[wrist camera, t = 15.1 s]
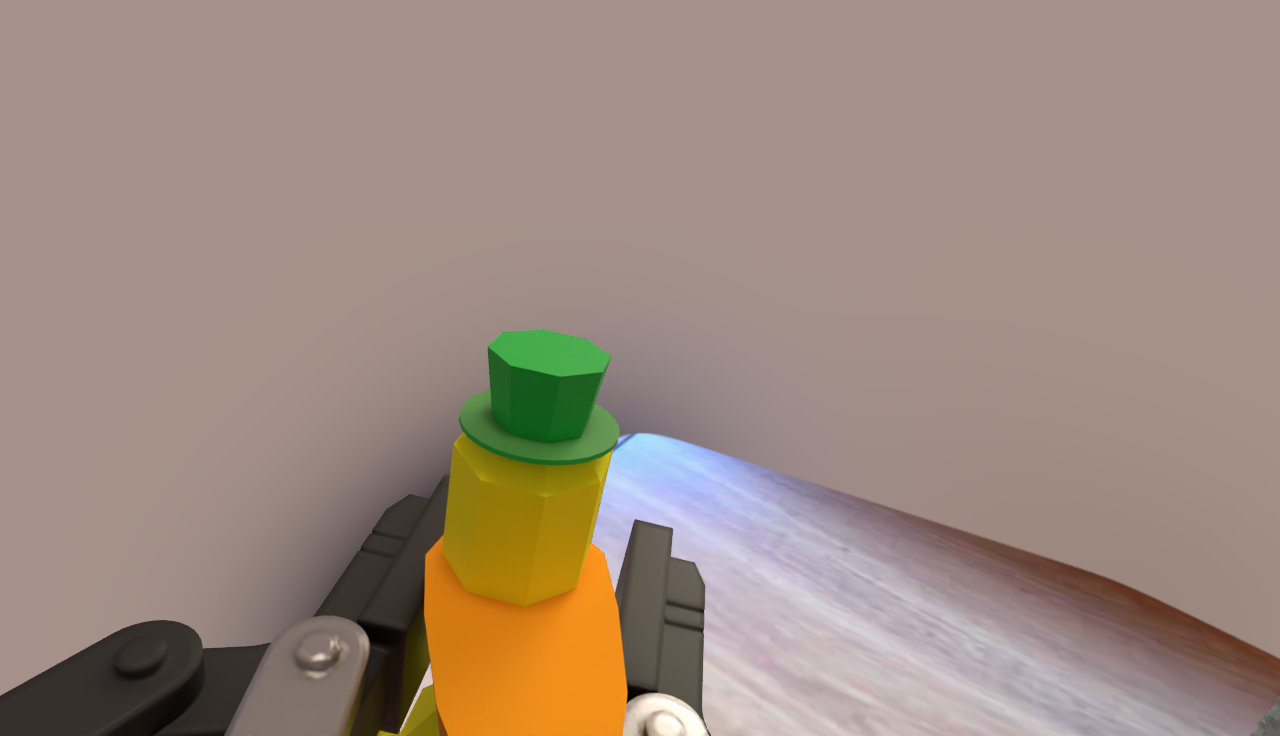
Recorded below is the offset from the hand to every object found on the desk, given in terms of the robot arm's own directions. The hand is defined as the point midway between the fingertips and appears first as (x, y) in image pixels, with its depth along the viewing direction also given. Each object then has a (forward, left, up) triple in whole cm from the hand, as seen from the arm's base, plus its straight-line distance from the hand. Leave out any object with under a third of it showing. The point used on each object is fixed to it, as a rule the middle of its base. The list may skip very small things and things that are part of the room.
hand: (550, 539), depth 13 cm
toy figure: (-1, -3, -7) cm, 8 cm away
